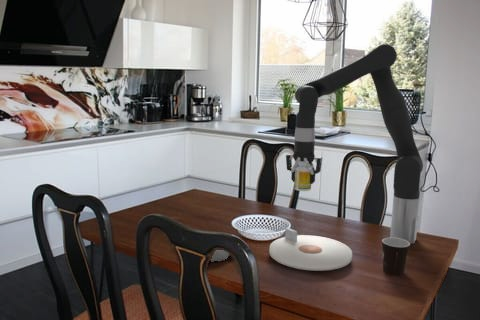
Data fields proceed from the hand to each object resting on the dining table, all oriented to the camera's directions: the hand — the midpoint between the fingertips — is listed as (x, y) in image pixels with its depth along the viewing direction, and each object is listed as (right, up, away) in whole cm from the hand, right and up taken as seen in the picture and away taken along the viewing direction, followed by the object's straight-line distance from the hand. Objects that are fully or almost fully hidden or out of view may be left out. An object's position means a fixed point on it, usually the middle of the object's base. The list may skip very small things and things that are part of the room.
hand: (302, 182), depth 184 cm
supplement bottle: (0, -3, +1) cm, 3 cm away
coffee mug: (+25, -28, -29) cm, 47 cm away
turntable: (0, -24, -19) cm, 30 cm away
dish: (-33, -25, -17) cm, 45 cm away
